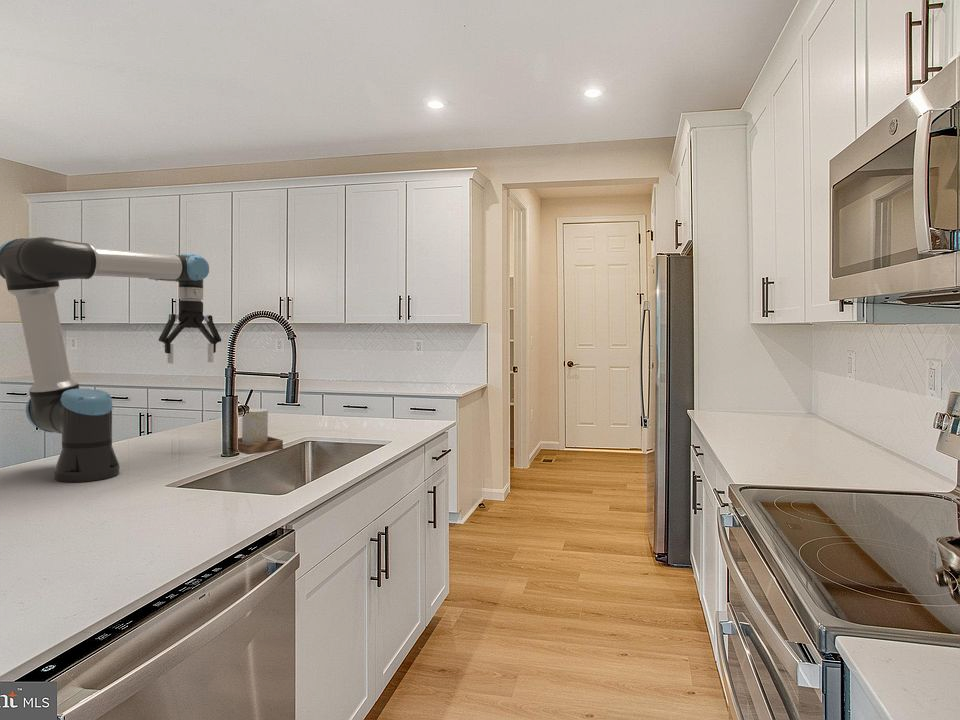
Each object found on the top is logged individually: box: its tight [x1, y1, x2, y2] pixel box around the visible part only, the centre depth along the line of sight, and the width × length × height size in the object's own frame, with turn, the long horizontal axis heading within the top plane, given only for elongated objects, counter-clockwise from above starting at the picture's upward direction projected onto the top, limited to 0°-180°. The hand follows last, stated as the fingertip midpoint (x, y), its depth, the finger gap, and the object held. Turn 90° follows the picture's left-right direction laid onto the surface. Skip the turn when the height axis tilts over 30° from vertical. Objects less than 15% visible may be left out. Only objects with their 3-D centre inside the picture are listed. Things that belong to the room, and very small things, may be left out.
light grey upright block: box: [241, 408, 269, 444], centre depth 212 cm, size 8×8×12 cm
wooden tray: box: [237, 435, 284, 455], centre depth 212 cm, size 13×13×3 cm
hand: (190, 362), depth 212 cm, fingers open, 13 cm apart
